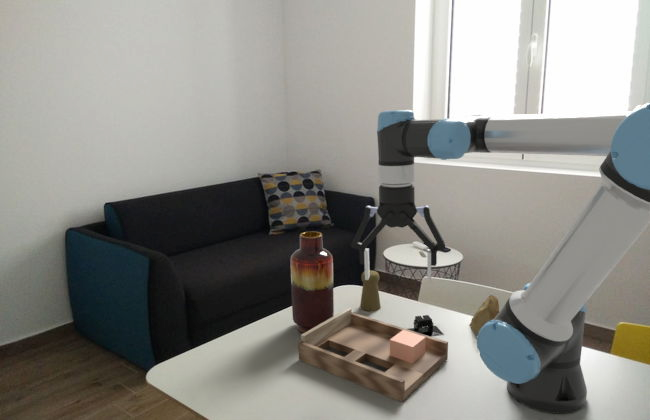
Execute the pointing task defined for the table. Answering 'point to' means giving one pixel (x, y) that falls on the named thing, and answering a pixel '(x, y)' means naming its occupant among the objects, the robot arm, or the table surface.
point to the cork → (370, 292)
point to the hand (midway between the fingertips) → (398, 278)
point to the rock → (485, 313)
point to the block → (407, 346)
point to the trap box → (369, 354)
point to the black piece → (425, 326)
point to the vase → (311, 282)
